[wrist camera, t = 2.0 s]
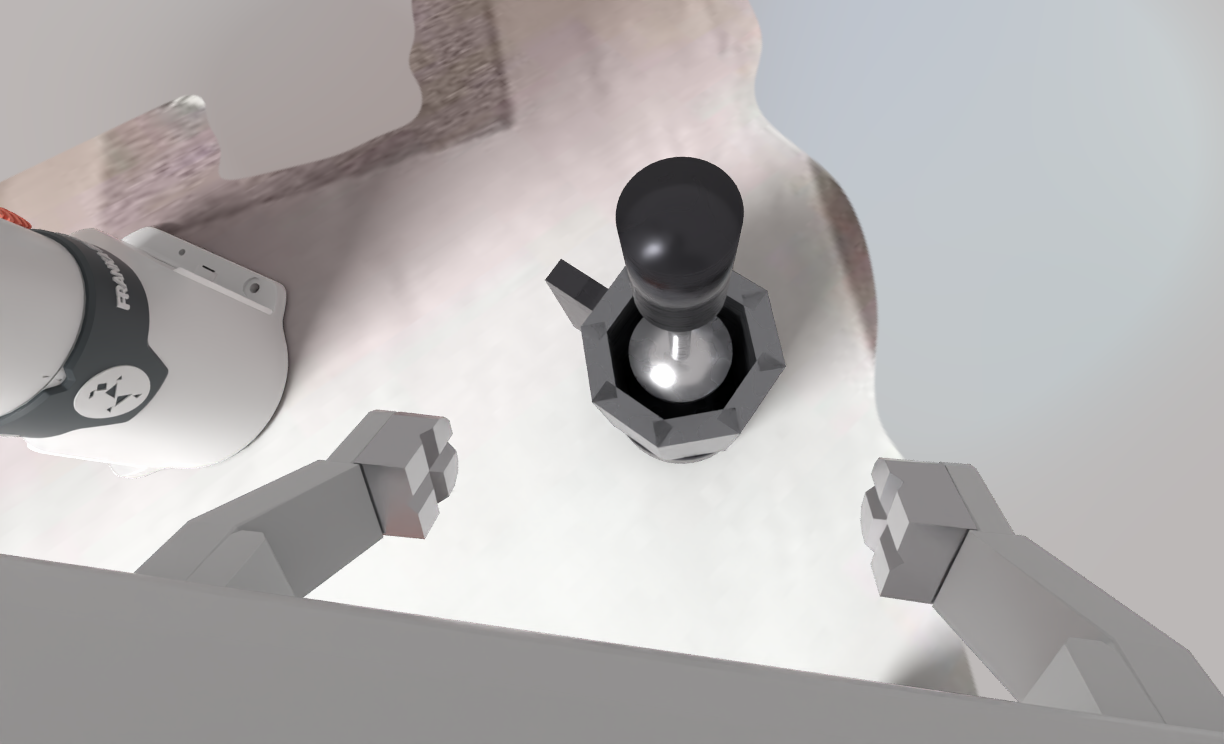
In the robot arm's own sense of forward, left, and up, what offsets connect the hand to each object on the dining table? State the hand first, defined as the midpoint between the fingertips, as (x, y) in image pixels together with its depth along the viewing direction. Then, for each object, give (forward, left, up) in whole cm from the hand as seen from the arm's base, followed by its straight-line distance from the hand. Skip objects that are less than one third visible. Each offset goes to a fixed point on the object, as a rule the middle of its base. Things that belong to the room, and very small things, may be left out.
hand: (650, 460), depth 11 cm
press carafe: (-5, +6, -28) cm, 29 cm away
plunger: (-3, +6, -16) cm, 17 cm away
